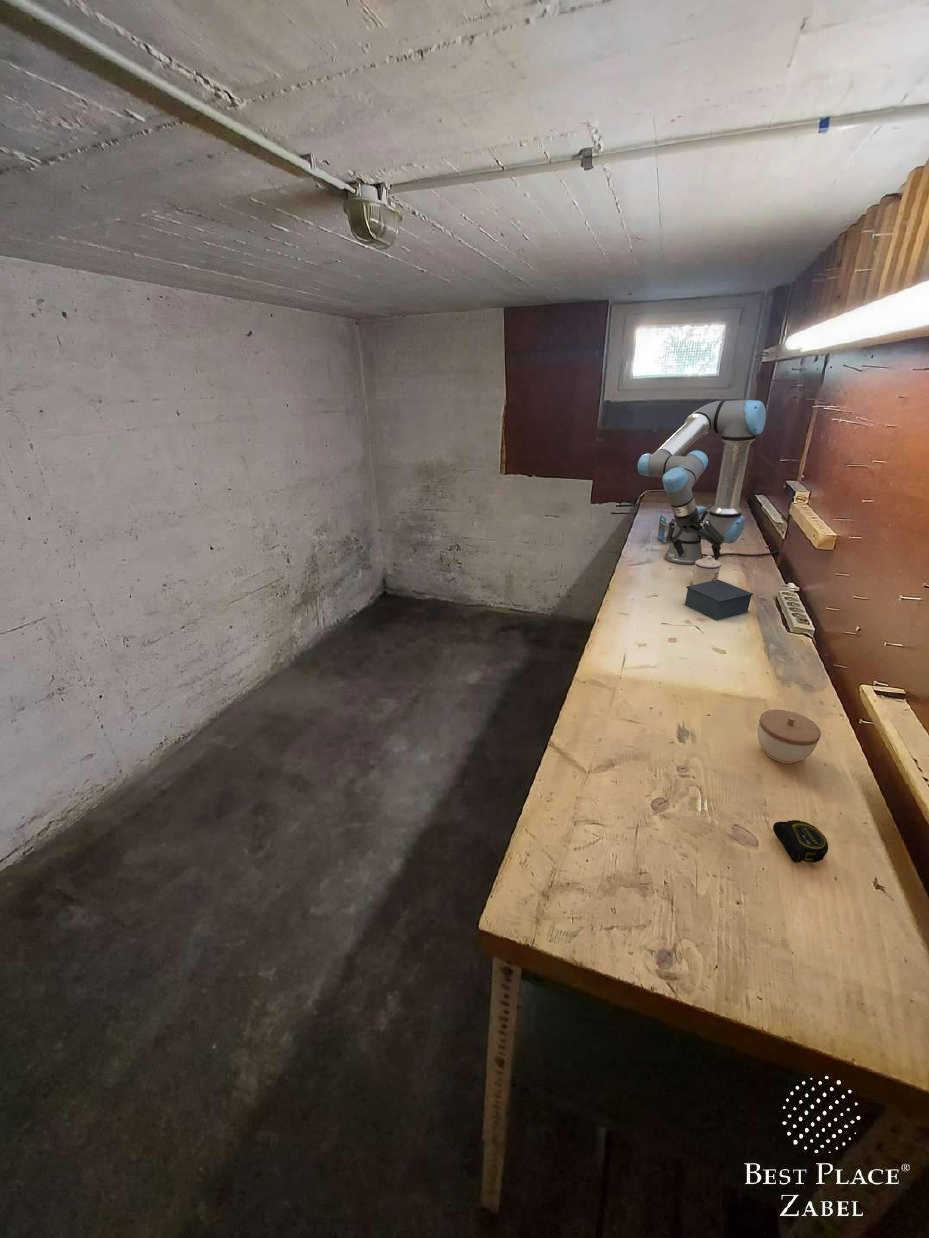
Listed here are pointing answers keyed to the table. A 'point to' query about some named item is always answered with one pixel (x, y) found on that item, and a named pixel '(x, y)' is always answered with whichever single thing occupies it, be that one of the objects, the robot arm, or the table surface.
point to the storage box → (718, 599)
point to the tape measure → (801, 841)
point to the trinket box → (787, 735)
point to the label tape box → (663, 529)
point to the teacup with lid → (705, 570)
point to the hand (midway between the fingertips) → (699, 555)
